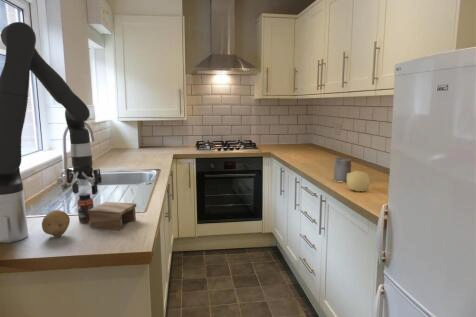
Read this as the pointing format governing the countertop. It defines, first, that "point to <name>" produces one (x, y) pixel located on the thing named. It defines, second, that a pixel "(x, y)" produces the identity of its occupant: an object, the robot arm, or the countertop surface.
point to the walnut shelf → (111, 215)
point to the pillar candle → (342, 168)
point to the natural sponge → (55, 223)
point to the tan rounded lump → (358, 181)
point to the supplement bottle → (84, 207)
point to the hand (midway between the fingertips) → (85, 193)
